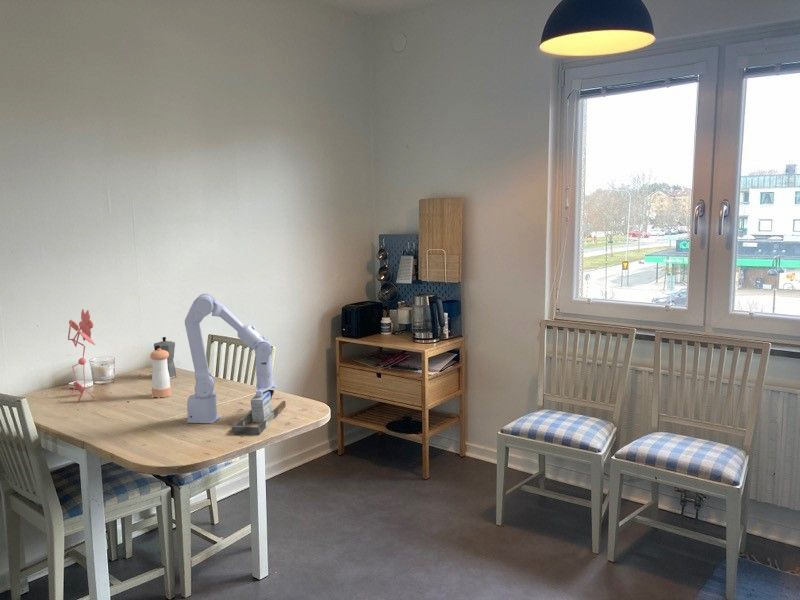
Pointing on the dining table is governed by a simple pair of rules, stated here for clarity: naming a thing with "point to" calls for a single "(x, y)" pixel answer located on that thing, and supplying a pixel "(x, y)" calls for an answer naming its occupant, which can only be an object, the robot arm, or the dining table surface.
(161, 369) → the salt shaker
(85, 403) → the dining table surface
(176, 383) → the dining table surface
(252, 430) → the trap channel
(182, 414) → the dining table surface
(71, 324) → the figurine
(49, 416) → the dining table surface
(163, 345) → the coffeepot
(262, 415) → the medicine box
